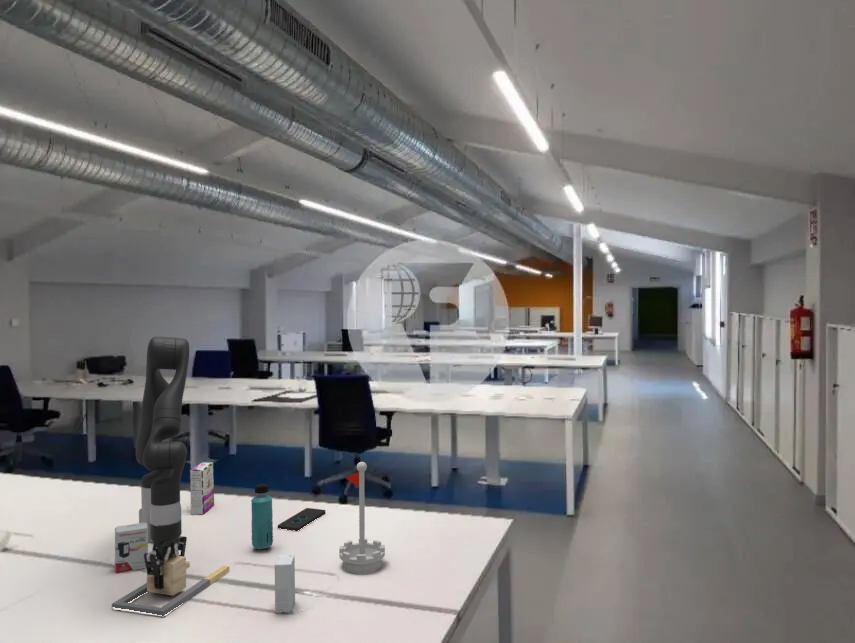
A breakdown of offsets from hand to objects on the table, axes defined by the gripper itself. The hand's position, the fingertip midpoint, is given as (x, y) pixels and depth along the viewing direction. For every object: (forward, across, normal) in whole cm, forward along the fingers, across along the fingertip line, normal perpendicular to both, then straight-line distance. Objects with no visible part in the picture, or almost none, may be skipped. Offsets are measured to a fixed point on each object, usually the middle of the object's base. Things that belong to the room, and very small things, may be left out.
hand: (166, 583), depth 164 cm
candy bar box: (+3, -61, -33) cm, 70 cm away
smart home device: (+4, -61, +8) cm, 61 cm away
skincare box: (+3, -2, +33) cm, 33 cm away
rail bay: (+3, -4, 0) cm, 4 cm away
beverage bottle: (+3, -34, +8) cm, 35 cm away
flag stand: (+3, -31, +42) cm, 52 cm away
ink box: (+3, -11, -21) cm, 24 cm away
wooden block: (+1, 0, 0) cm, 1 cm away
